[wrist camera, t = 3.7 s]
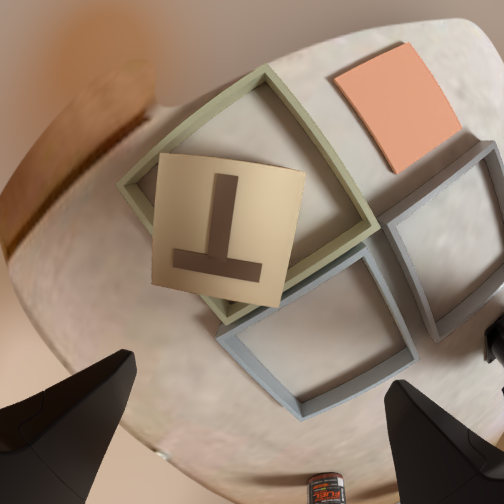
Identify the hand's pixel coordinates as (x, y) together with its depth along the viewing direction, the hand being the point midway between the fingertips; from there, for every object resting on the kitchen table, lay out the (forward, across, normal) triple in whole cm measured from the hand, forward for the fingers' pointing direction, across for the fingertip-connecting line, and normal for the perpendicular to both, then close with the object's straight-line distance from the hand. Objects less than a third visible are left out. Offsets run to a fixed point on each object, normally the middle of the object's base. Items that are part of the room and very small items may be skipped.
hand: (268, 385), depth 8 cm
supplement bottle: (+12, -16, +36) cm, 41 cm away
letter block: (+13, +2, -4) cm, 14 cm away
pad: (+12, -8, -13) cm, 20 cm away
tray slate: (+12, -6, +7) cm, 16 cm away
